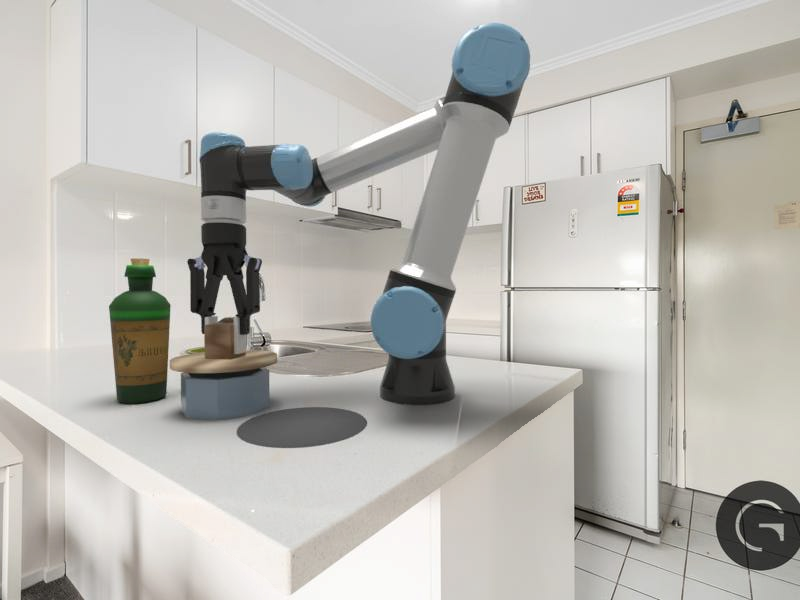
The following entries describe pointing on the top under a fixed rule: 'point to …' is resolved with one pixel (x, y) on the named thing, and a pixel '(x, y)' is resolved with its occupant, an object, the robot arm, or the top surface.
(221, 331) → the lid
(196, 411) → the bowl
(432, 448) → the top surface
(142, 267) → the bottle
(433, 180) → the robot arm
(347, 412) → the mat
